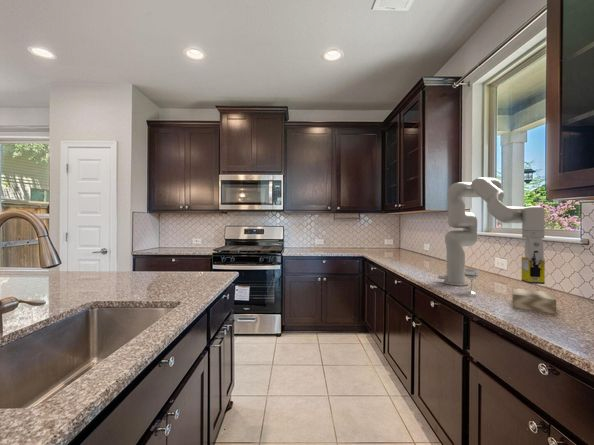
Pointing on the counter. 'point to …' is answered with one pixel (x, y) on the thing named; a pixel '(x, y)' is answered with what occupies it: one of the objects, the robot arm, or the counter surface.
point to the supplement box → (526, 272)
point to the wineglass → (471, 277)
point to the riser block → (534, 300)
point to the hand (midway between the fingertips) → (532, 275)
